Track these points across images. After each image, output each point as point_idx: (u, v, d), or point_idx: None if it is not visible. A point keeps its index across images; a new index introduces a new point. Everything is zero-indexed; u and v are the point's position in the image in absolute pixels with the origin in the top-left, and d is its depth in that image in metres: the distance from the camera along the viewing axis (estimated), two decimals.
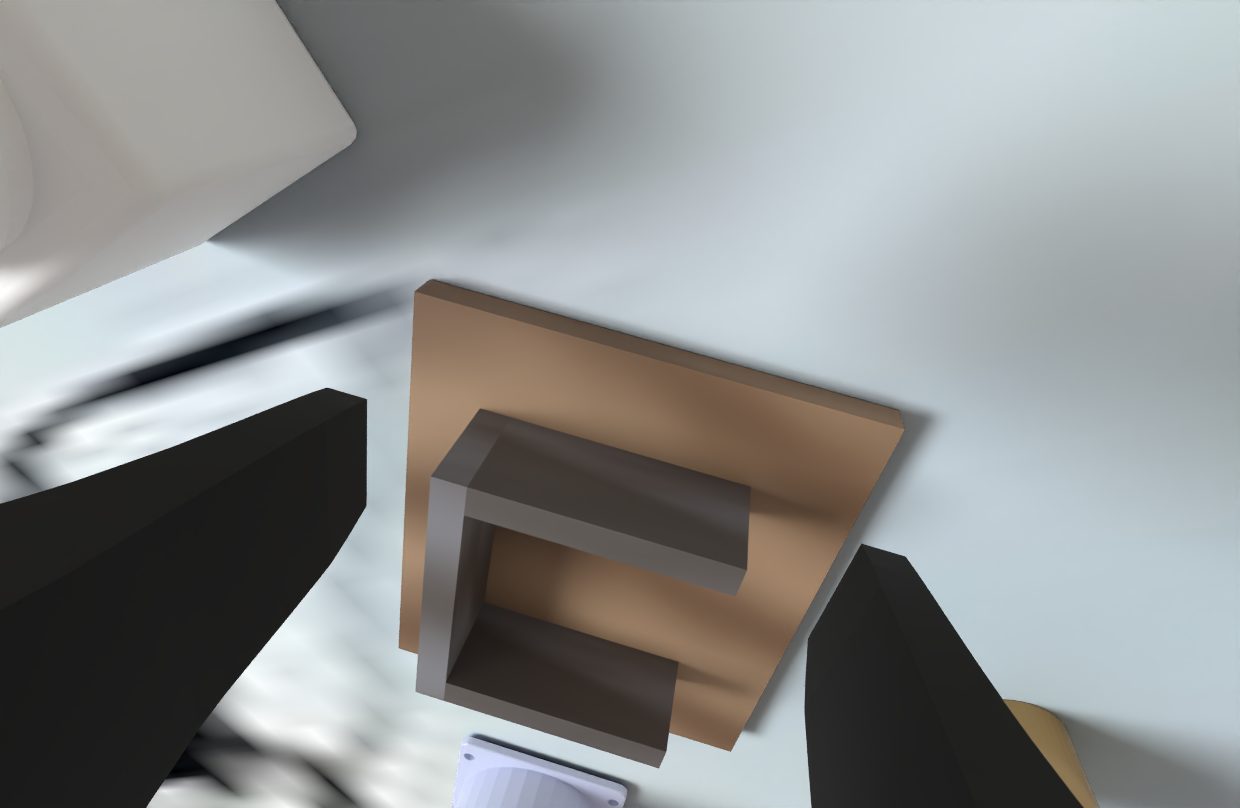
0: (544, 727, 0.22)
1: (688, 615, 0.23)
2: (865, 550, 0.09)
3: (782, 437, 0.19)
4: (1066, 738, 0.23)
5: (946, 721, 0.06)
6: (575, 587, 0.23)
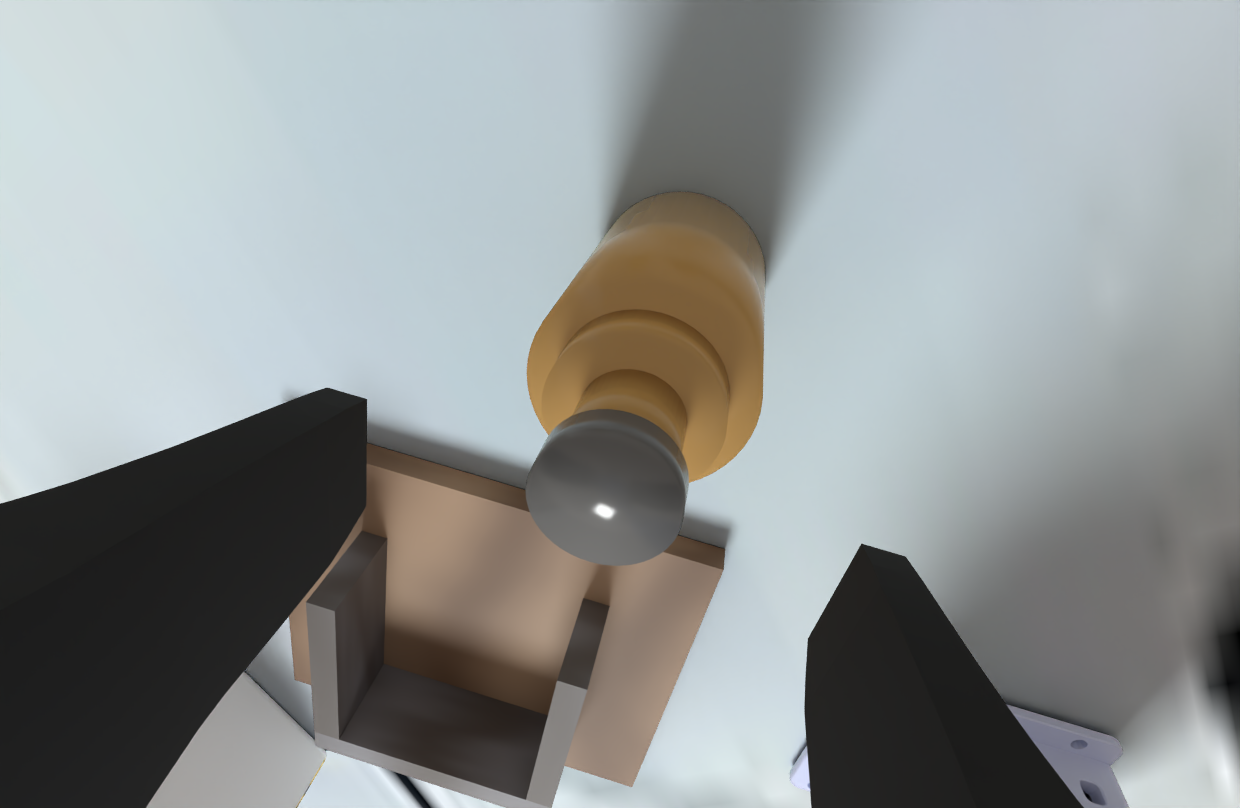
0: (559, 755, 0.23)
1: (517, 583, 0.24)
2: (865, 550, 0.09)
3: None
4: (612, 226, 0.17)
5: (946, 721, 0.06)
6: (511, 654, 0.26)
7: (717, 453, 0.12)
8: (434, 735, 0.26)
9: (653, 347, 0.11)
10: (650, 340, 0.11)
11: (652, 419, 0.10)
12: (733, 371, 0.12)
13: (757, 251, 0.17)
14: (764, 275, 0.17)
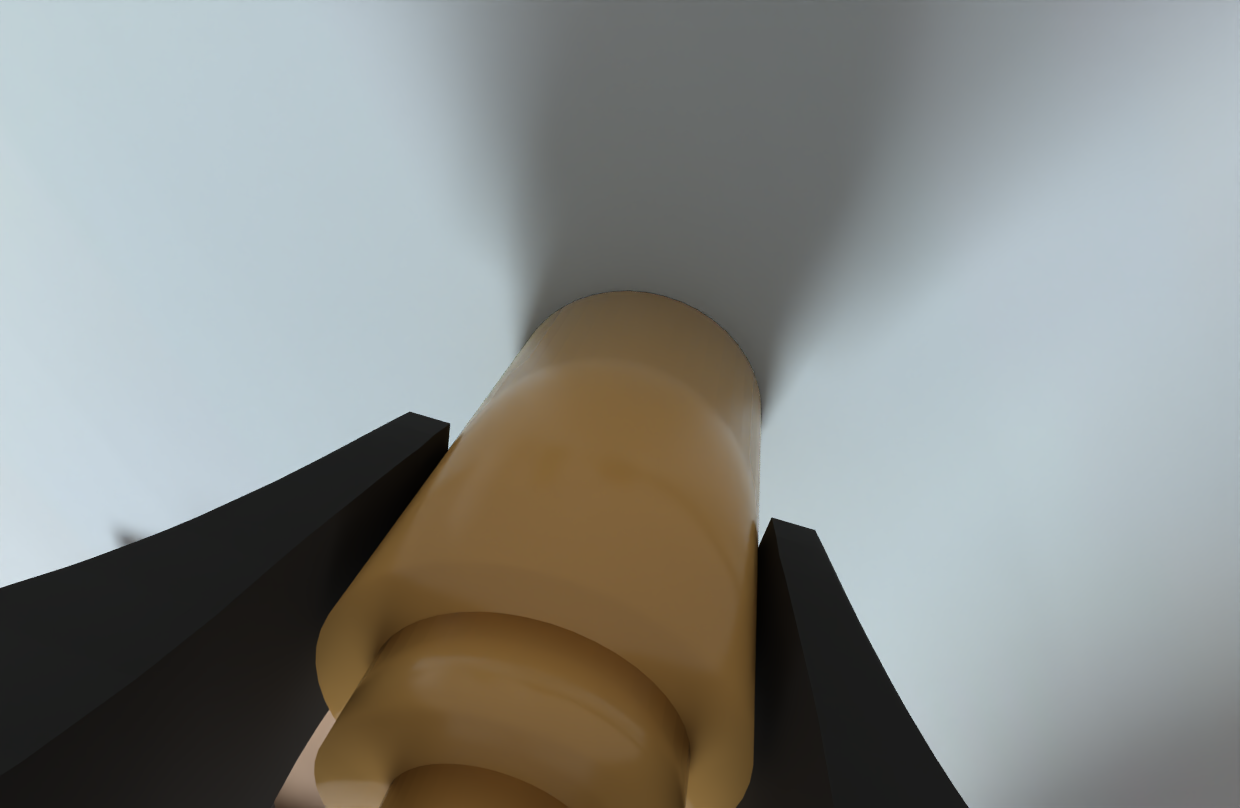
0: None
1: None
2: (773, 523, 0.09)
3: None
4: (525, 345, 0.11)
5: (815, 681, 0.06)
6: None
7: None
8: None
9: (515, 741, 0.05)
10: (507, 728, 0.05)
11: None
12: (696, 723, 0.06)
13: (748, 388, 0.11)
14: (759, 420, 0.11)
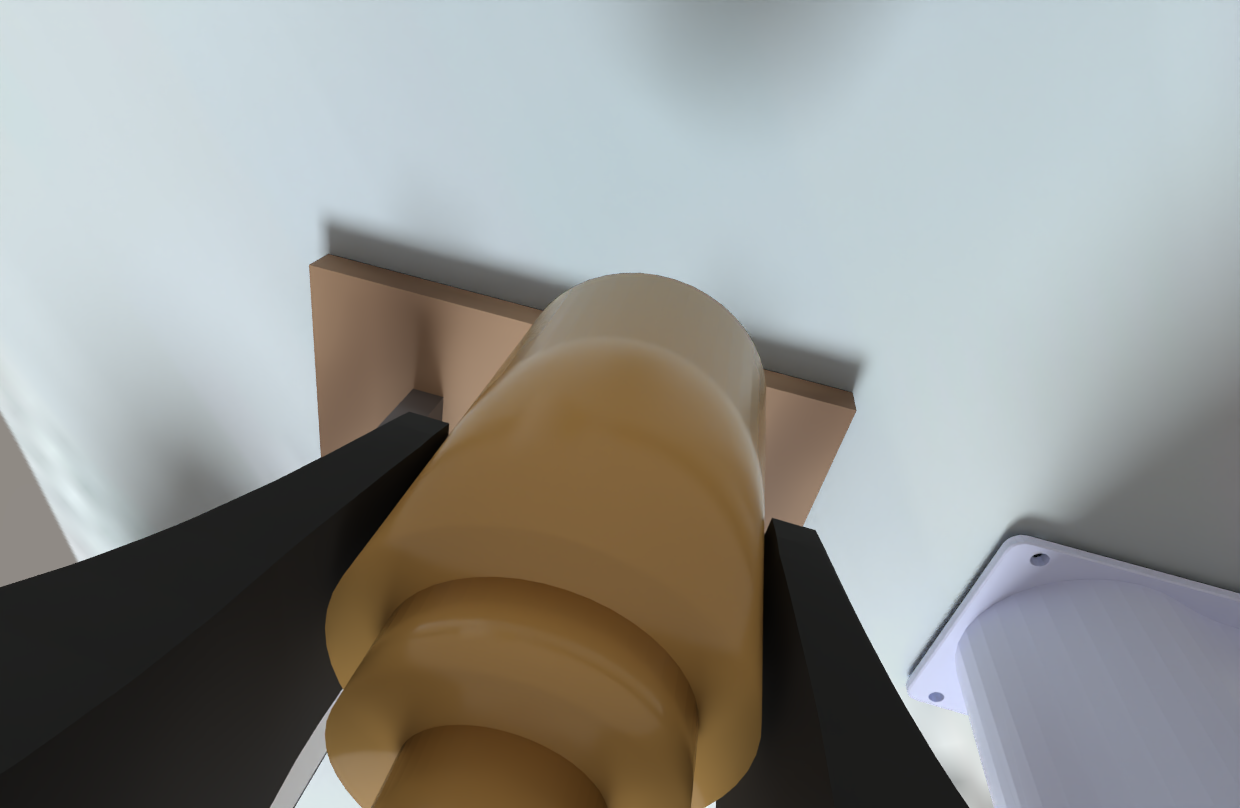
0: None
1: None
2: (774, 523, 0.09)
3: (354, 363, 0.21)
4: (533, 323, 0.11)
5: (816, 682, 0.06)
6: None
7: None
8: None
9: (532, 702, 0.05)
10: (526, 689, 0.05)
11: None
12: (705, 694, 0.06)
13: (756, 373, 0.11)
14: (765, 406, 0.11)
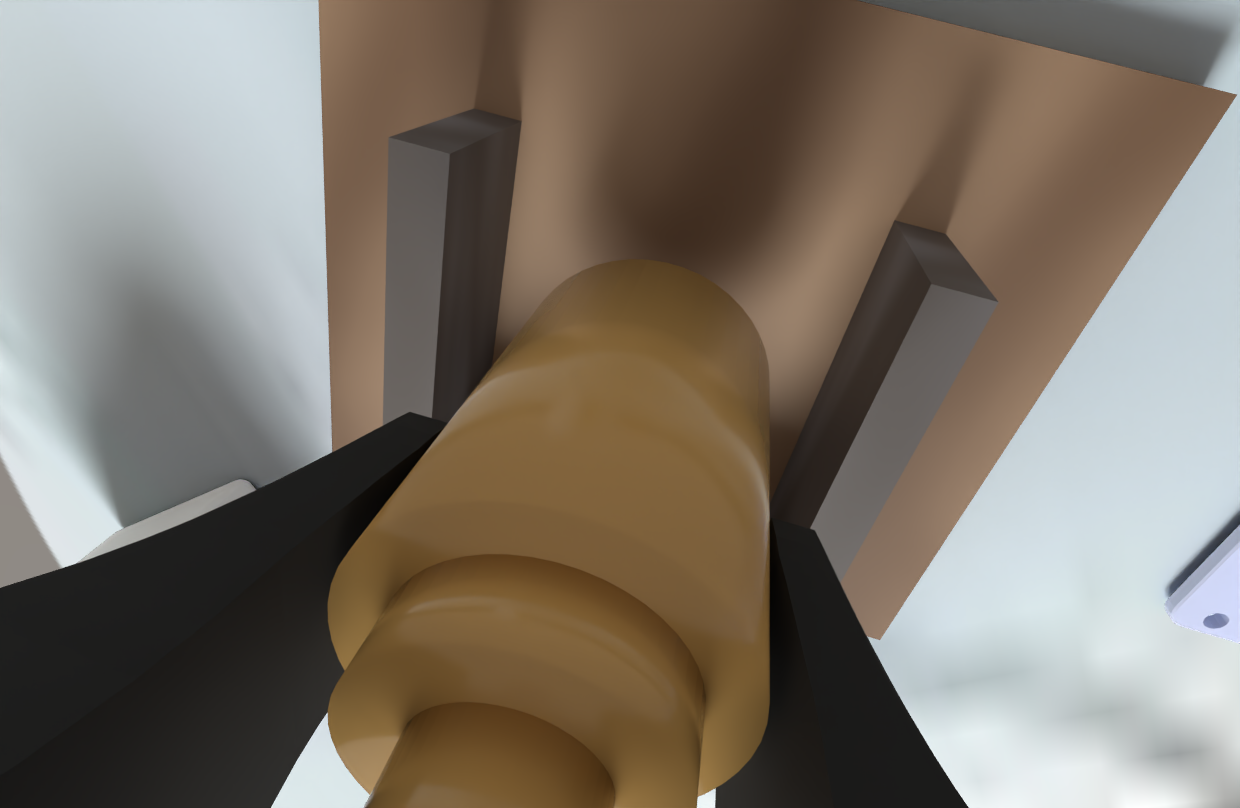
0: (870, 499, 0.12)
1: (764, 201, 0.13)
2: (773, 523, 0.09)
3: (382, 67, 0.13)
4: (540, 306, 0.11)
5: (815, 681, 0.06)
6: None
7: None
8: None
9: (547, 680, 0.05)
10: (541, 667, 0.05)
11: None
12: (715, 679, 0.06)
13: (762, 365, 0.11)
14: (769, 398, 0.11)
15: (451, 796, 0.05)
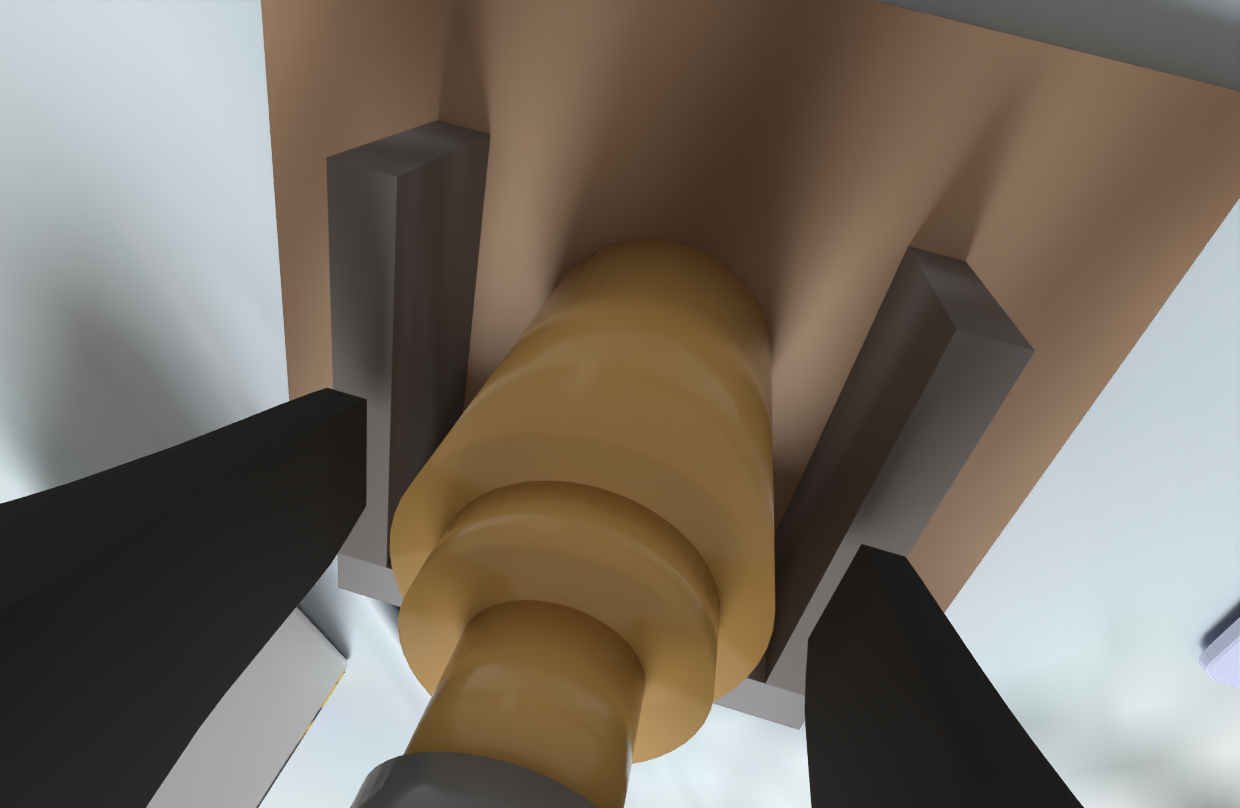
0: None
1: (762, 224, 0.12)
2: (865, 550, 0.09)
3: (334, 73, 0.12)
4: (561, 282, 0.12)
5: (946, 721, 0.06)
6: None
7: (693, 732, 0.07)
8: None
9: (591, 576, 0.06)
10: (586, 565, 0.06)
11: (575, 752, 0.05)
12: (728, 589, 0.07)
13: (765, 335, 0.12)
14: (771, 366, 0.12)
15: (515, 666, 0.06)
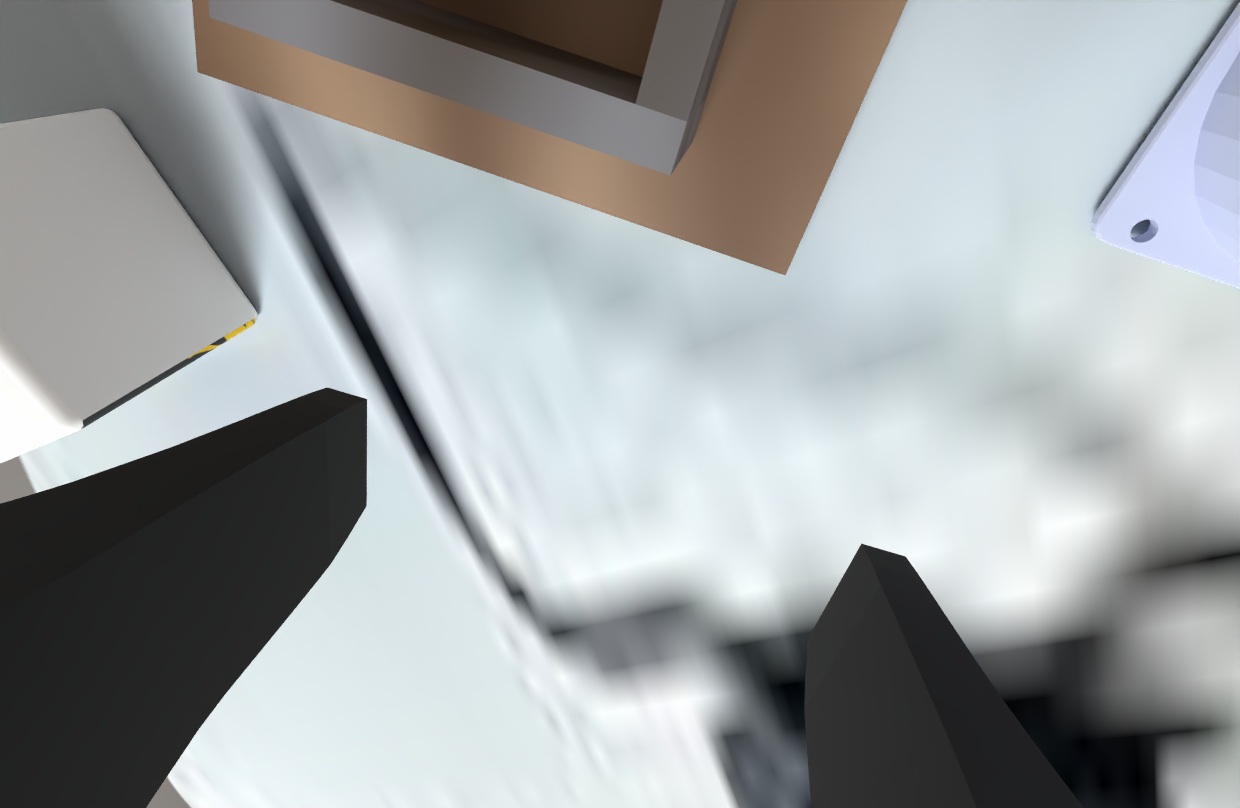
0: None
1: None
2: (865, 550, 0.09)
3: None
4: None
5: (946, 721, 0.06)
6: None
7: None
8: (449, 28, 0.13)
9: None
10: None
11: None
12: None
13: None
14: None
15: None
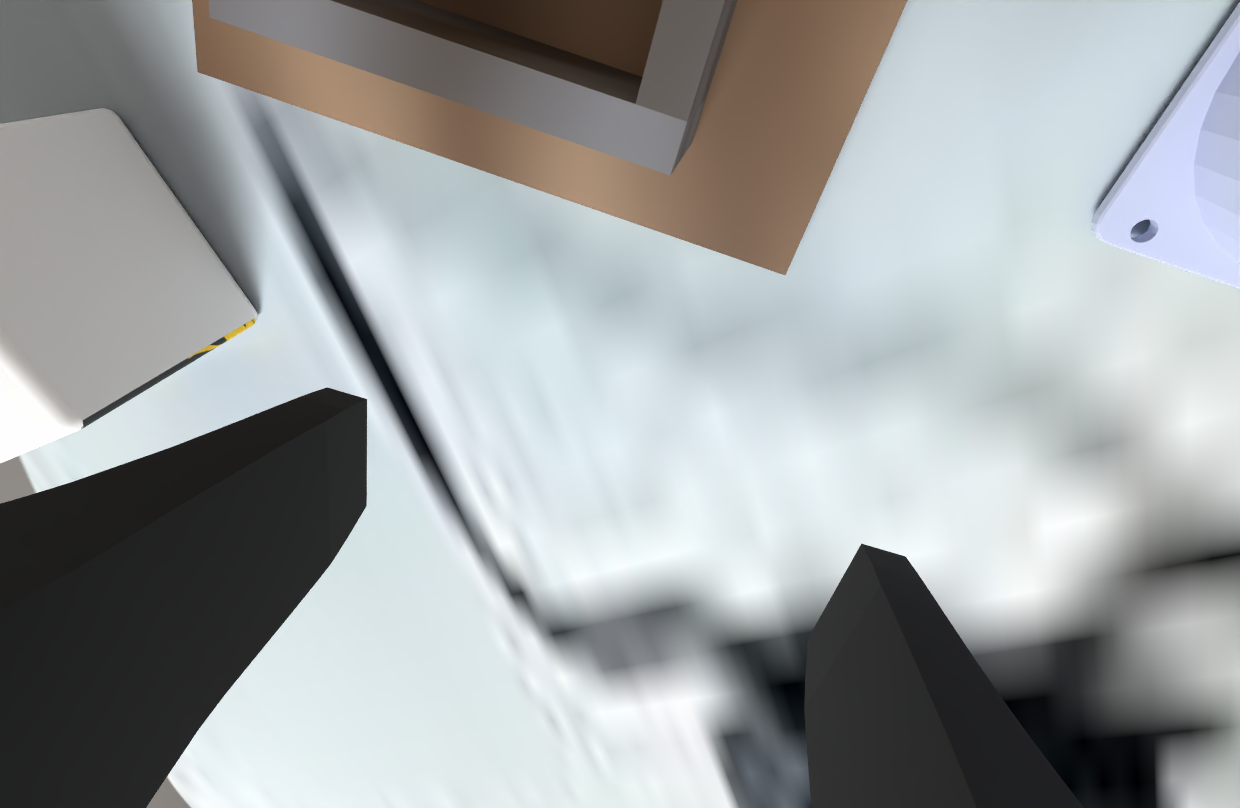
0: None
1: None
2: (865, 550, 0.09)
3: None
4: None
5: (946, 721, 0.06)
6: None
7: None
8: (449, 28, 0.13)
9: None
10: None
11: None
12: None
13: None
14: None
15: None
